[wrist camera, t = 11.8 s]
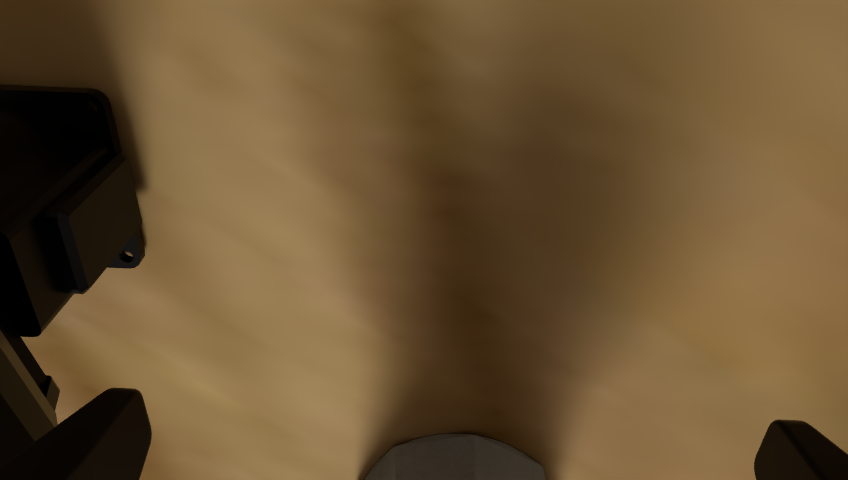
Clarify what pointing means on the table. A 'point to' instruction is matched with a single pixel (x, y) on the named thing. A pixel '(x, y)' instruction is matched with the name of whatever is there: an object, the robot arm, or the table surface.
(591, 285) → the table surface
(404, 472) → the coffeepot
